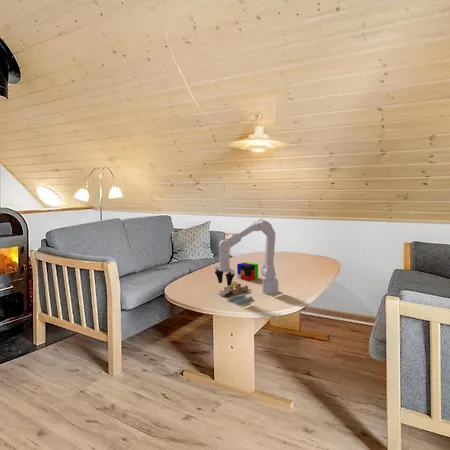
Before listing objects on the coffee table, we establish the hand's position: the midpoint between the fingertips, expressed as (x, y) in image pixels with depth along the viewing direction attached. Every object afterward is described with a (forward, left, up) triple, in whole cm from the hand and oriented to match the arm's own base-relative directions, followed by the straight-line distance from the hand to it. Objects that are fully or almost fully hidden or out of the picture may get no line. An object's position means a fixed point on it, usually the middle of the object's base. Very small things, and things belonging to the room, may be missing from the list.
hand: (224, 284), depth 213 cm
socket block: (-8, 0, -7) cm, 11 cm away
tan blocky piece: (-7, 0, -6) cm, 9 cm away
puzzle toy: (-37, -18, -8) cm, 42 cm away
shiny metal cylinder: (-2, 0, -7) cm, 7 cm away
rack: (0, +13, -7) cm, 15 cm away
